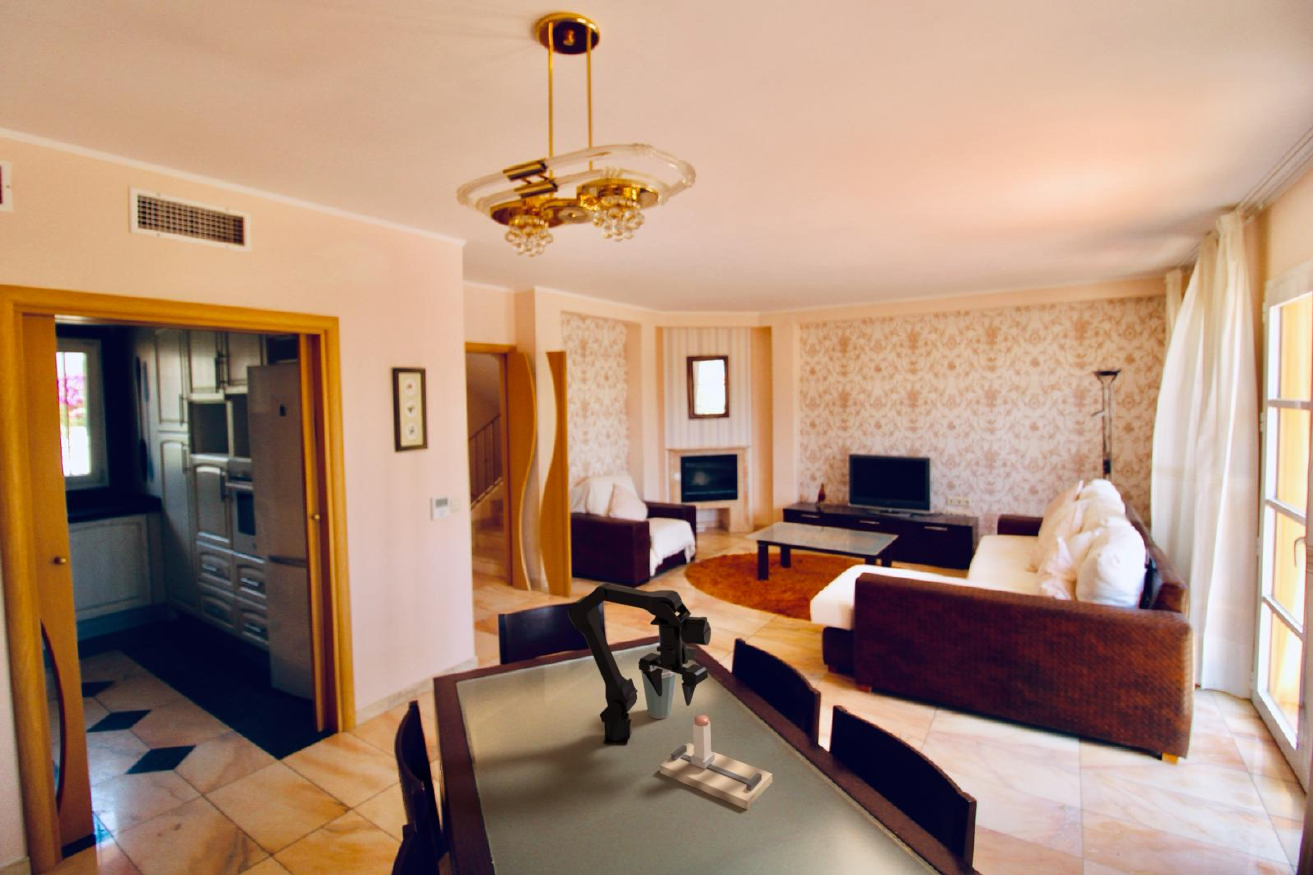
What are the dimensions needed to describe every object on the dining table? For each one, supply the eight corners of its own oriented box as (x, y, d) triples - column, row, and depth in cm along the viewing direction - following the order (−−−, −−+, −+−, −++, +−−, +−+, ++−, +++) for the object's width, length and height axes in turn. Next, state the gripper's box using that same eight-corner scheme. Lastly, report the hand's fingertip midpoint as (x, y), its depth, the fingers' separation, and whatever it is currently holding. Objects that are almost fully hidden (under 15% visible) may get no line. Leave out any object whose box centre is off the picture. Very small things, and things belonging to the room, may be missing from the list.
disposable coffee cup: (636, 719, 177) (634, 667, 176) (650, 701, 187) (648, 653, 186) (670, 725, 173) (669, 673, 172) (683, 707, 183) (682, 657, 182)
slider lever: (690, 763, 150) (689, 720, 149) (700, 754, 153) (699, 712, 153) (704, 769, 147) (703, 725, 147) (714, 760, 151) (713, 717, 150)
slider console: (660, 773, 151) (659, 759, 151) (687, 749, 160) (687, 737, 160) (747, 809, 136) (747, 794, 136) (772, 782, 146) (771, 768, 146)
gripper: (718, 638, 160) (721, 697, 160) (661, 625, 172) (665, 680, 172) (692, 653, 151) (696, 715, 152) (635, 638, 163) (639, 696, 164)
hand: (674, 700), depth 160 cm, fingers open, 9 cm apart
